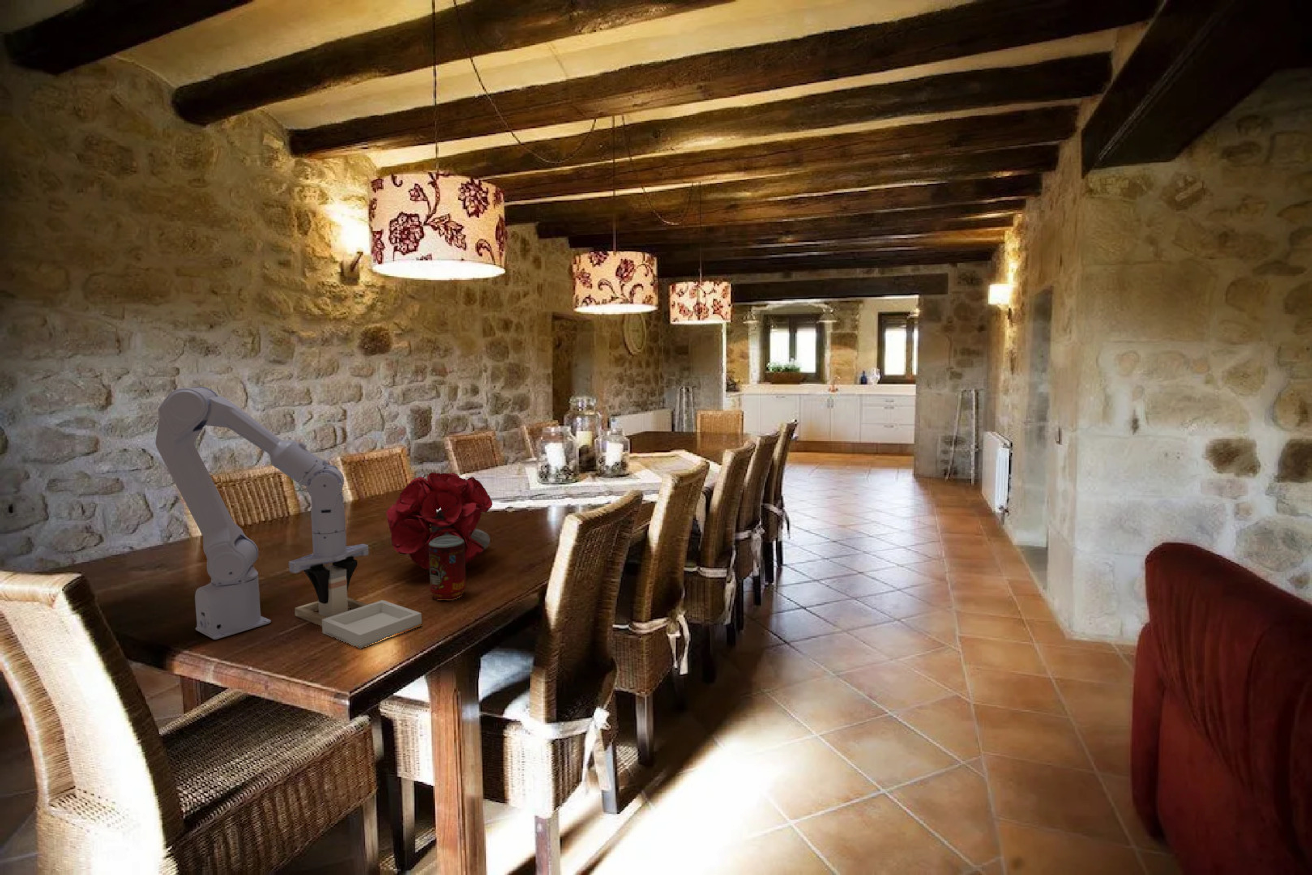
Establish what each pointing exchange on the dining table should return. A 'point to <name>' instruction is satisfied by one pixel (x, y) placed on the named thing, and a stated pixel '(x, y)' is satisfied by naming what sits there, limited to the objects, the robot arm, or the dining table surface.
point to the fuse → (335, 593)
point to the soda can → (447, 567)
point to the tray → (370, 623)
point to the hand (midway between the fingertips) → (332, 599)
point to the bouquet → (438, 515)
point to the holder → (308, 609)
